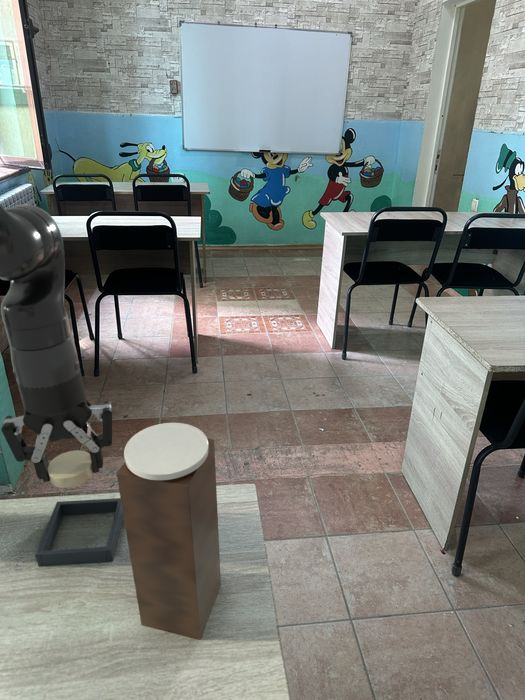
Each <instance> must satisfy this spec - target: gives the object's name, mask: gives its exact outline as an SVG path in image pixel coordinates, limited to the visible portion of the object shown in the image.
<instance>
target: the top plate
mask: <svg viewBox="0 0 525 700" xmlns="http://www.w3.org/2000/svg"><path fill="white" fill-rule="evenodd" d="M48 463H49V465H48V469H47V471H48V475H49V479H50V481H49V482H50V484H51V485H52V486H54V487H56V488H58V489H72V488H75V487H79V486H80V485H82V484H84V483H86V482H88V480H90V478H92V476H93V475H94V474H95V473H94V472H93V467H92V462H91V457H90V452H87V451H84V450H79V449H78V450H77V449H76V450H70V451H66V452H63V453H60V454H59V455H56V457H54V458H53V459H52V460H51V461H50V462H48Z"/></svg>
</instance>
